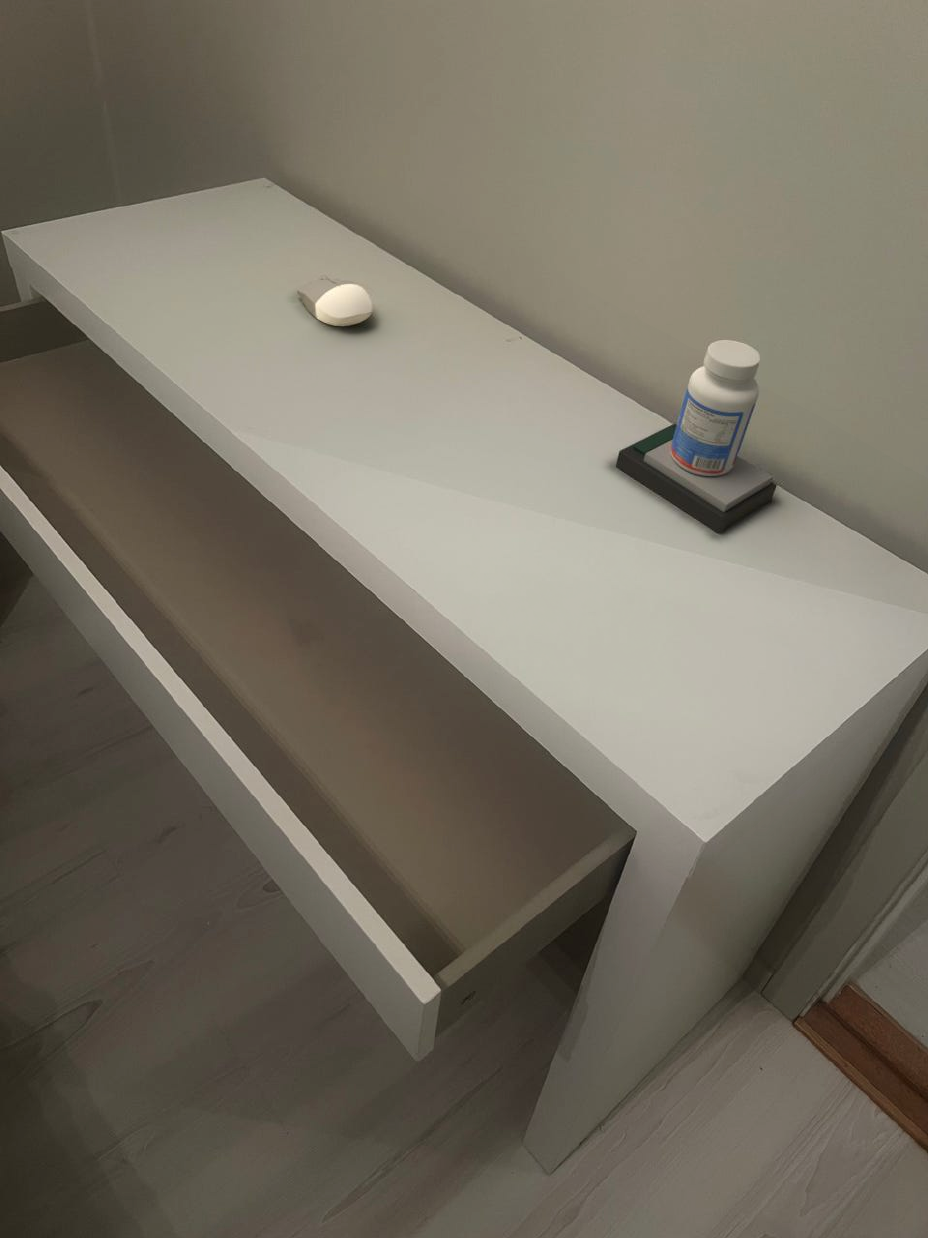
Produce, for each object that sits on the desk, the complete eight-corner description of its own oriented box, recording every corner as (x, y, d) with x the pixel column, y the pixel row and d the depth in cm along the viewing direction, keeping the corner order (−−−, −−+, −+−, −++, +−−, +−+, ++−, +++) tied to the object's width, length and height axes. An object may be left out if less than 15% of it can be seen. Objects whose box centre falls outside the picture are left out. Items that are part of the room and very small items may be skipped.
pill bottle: (696, 433, 80) (730, 328, 73) (746, 464, 77) (785, 358, 70) (654, 453, 77) (685, 345, 70) (705, 486, 74) (741, 377, 68)
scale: (771, 500, 78) (780, 476, 76) (717, 533, 74) (726, 509, 72) (669, 438, 83) (676, 415, 82) (615, 466, 79) (621, 442, 78)
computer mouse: (340, 285, 99) (340, 257, 97) (384, 327, 93) (385, 298, 91) (288, 294, 96) (287, 266, 94) (330, 338, 91) (330, 309, 88)
